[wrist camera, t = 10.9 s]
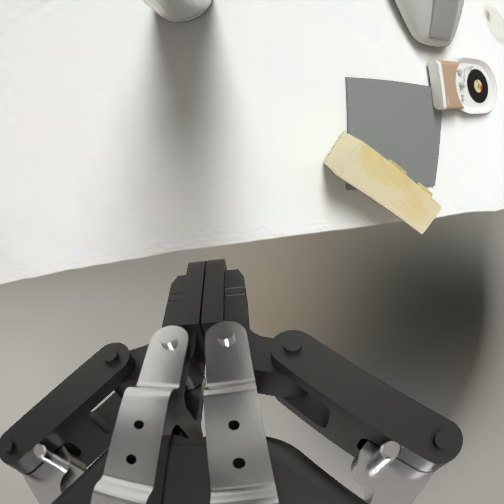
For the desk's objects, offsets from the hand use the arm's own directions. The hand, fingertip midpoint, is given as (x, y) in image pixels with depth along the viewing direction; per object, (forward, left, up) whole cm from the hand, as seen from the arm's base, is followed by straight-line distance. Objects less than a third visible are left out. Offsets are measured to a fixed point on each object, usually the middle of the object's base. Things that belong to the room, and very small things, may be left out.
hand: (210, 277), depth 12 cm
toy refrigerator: (+4, +17, -33) cm, 37 cm away
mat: (+2, +30, -37) cm, 48 cm away
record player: (-10, +47, -37) cm, 61 cm away
